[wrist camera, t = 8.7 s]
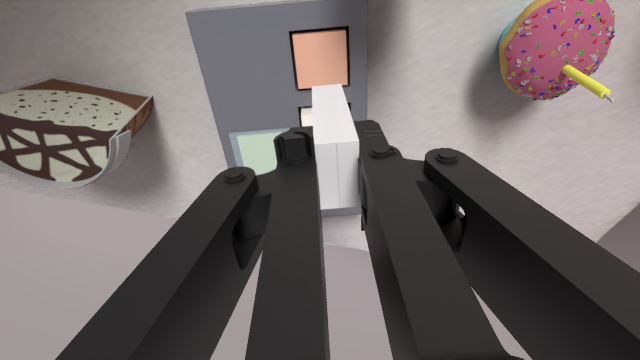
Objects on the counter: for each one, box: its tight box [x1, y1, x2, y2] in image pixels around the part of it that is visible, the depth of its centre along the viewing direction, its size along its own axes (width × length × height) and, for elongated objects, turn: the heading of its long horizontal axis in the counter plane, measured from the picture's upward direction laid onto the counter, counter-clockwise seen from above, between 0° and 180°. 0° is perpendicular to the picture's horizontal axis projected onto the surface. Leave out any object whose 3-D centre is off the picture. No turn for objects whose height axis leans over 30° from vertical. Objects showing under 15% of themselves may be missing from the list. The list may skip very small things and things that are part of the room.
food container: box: [0, 77, 153, 189], centre depth 28 cm, size 12×6×10 cm, turn 78°
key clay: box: [292, 27, 348, 89], centre depth 28 cm, size 4×4×2 cm
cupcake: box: [499, 0, 615, 103], centre depth 25 cm, size 9×8×12 cm
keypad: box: [185, 0, 367, 217], centre depth 32 cm, size 22×14×4 cm, turn 5°
